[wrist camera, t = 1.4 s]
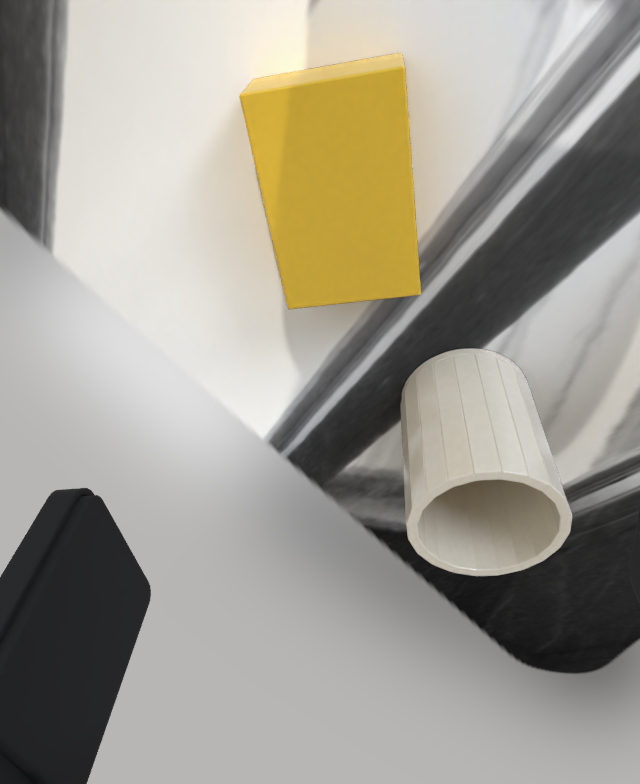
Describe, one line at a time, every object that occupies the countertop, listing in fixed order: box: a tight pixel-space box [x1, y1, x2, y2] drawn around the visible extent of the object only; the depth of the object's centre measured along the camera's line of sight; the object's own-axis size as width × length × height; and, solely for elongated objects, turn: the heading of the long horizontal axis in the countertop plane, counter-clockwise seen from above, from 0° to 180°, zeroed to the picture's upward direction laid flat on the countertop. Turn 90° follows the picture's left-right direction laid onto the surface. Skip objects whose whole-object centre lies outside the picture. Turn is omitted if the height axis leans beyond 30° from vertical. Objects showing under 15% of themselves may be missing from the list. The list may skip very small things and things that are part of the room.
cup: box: [400, 348, 572, 576], centre depth 29 cm, size 7×7×9 cm
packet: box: [240, 53, 421, 309], centre depth 25 cm, size 9×6×3 cm, turn 10°
